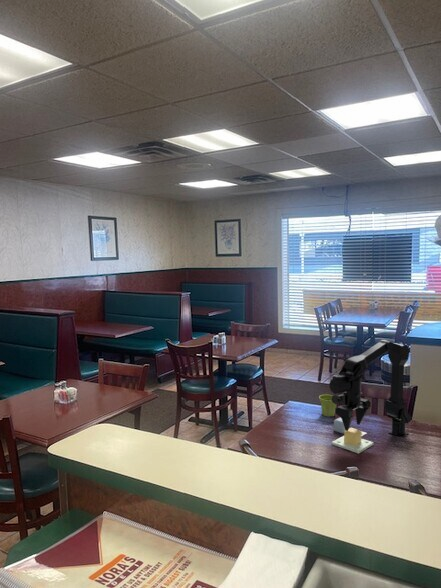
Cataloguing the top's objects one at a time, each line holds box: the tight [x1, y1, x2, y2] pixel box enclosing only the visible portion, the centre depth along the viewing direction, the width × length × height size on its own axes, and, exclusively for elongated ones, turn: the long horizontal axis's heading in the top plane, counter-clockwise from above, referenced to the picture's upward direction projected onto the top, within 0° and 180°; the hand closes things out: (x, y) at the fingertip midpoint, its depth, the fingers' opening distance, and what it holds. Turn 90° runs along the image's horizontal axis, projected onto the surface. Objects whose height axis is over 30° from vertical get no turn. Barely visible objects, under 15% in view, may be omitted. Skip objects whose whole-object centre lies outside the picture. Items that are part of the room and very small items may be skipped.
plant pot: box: [318, 394, 337, 418], centre depth 214 cm, size 9×9×9 cm
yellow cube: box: [343, 427, 363, 446], centre depth 180 cm, size 5×5×5 cm
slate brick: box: [333, 416, 351, 434], centre depth 194 cm, size 5×5×5 cm
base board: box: [331, 435, 374, 455], centre depth 180 cm, size 12×12×1 cm
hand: (352, 427), depth 179 cm, fingers open, 9 cm apart
